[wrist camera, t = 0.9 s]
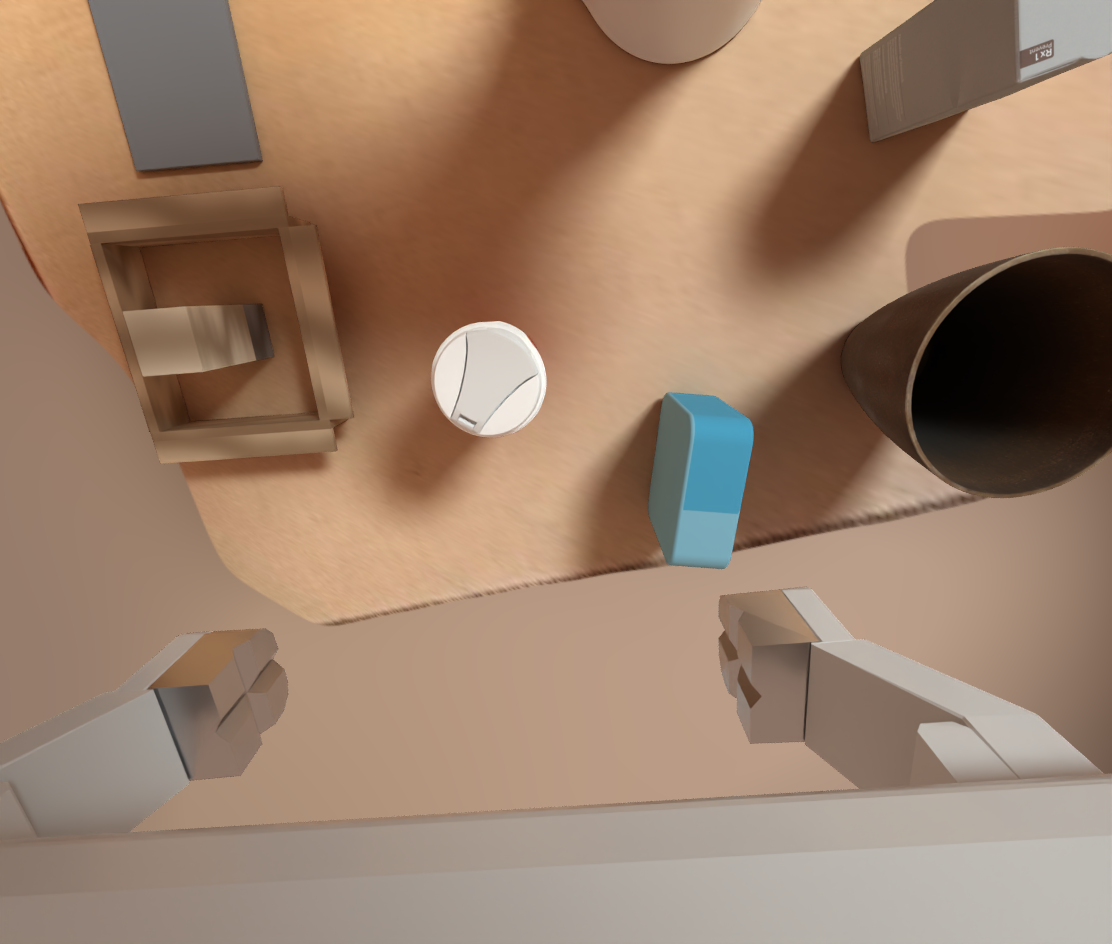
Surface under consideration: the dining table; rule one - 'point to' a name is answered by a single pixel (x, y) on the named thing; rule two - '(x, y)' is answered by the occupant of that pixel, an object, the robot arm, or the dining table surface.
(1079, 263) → the plant pot
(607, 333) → the dining table surface
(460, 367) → the paper cup
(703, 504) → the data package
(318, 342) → the wooden frame
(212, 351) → the box
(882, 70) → the skincare box
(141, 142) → the rubber mat
